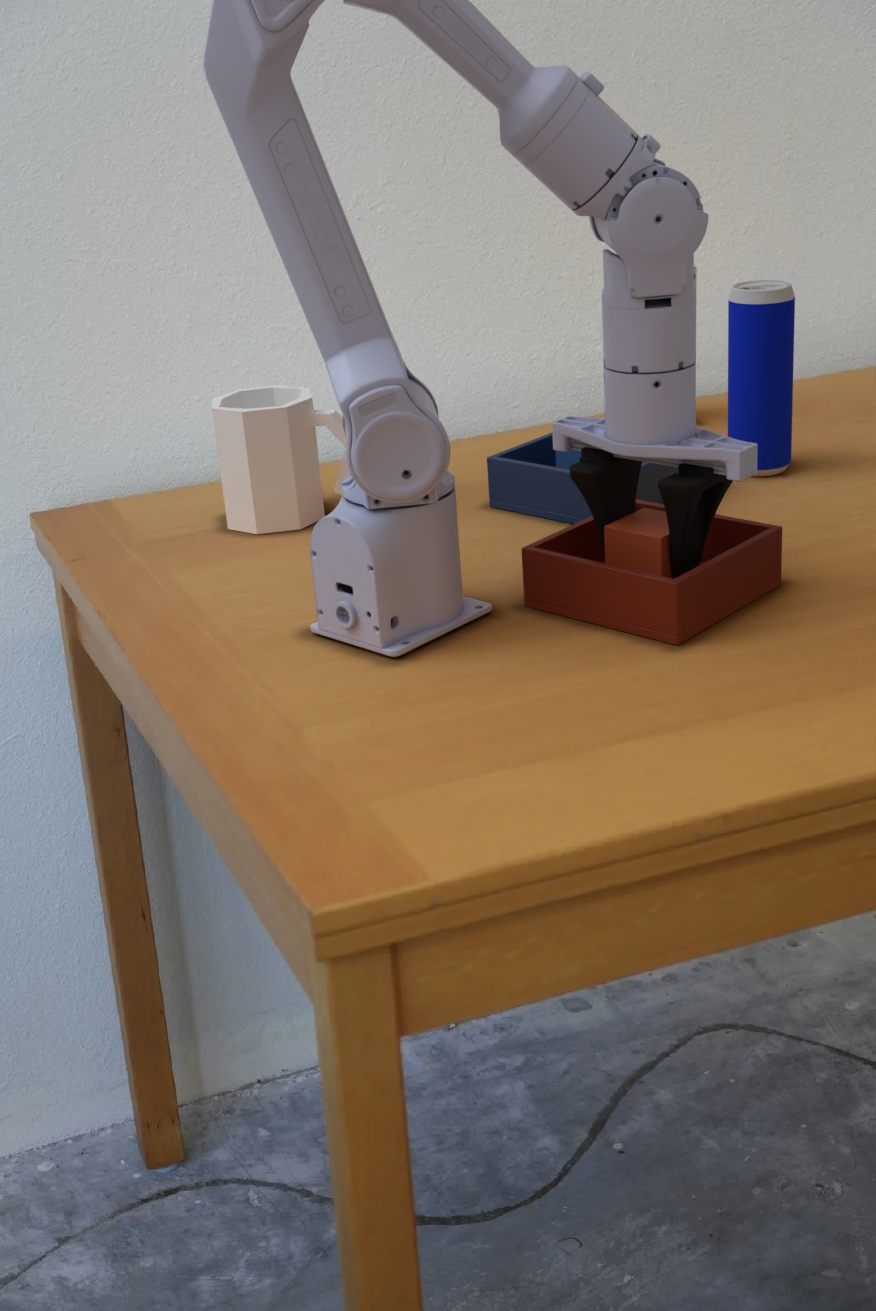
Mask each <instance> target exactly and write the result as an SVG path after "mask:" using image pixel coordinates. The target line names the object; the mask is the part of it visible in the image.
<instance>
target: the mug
mask: <svg viewBox="0 0 876 1311" xmlns="http://www.w3.org/2000/svg"><path fill="white" fill-rule="evenodd" d="M313 402H314V401H313V394H312V390H311V387H307V386H306V387H305V386H295V385H285V384H272V385H263V386H256V387H249V388H241V389H235V390H233V391H230V392H228V393H225V394H222V395H219V396H216V397H214V398H211V415H212V422H213V430H214V437H215V444H216V451H217V459H218V466H219V473H220V481H221V489H222V495H223V496H222V497H223V504H224V511H225V517H226V526H227V530H231V531H236V532H243V533H249V534H253V535H263V534H272V533H280V532H289V531H298V530H299V531H300V530H302V529H304V528H306V527H309V526H311V525H313V524H316V523H317V522H318V521H319V520H321V519H322V518H323V517H325V516H326V513H325V504H324V495H323V486H322V485H323V484H322V476H321V466H320V458H319V456H320V455H319V447H318V439H317V428H316V427H326V428H327V429H328V430H329V432H330V433H331V434H332V435H333V436H334V437H335V438H336V439H337V440H338V441H339V442H340V444H342V446H343V447H344V448H345V449H344V453H343V456H342V459H341V463H340V467H339V471H338V474H337V477H336V481H335V486H334V489H333V492H334V493H336V494H339V495H341V496H343V495H342V482H343V480H344V479H346V478H348V476H349V473H350V472H349V469H348V465H347V461H346V442H347V441H346V435H345V433H344V429H343V421H342V414H340V413H339V412H338V411H337V410H336V409H314V403H313Z"/></svg>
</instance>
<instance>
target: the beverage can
mask: <svg viewBox="0 0 876 1311" xmlns="http://www.w3.org/2000/svg"><path fill="white" fill-rule="evenodd" d="M727 300H728V302H727V303H728V305H727V306H728V311H727V314H728V315H727V317H728V318H727V325H728V326H727V340H728V341H727V437H731V438H734V439H737V440H741V441H745V442H751V443H757V444H758V449H757V473H756V474H755V475H753V476H752V477H769V476H775V475H779V474H782V473H783V472H785V471H786V470H787V469H788V467H789V466H790V464H791V463H792V444H793V442H792V441H793V440H792V439H793V438H792V437H793V400H794V398H793V397H794V357H795V316H796V314H795V313H796V310H795V309H796V296H795V292H794V289H793V286H792V283H790V282H788V281H784V280H776V279H775V280H774V279H760V280H749V281H747V280H746V281H742V282H738V283H735V284H733V285H732V287H731V290H730V293H729V296H728V299H727Z"/></svg>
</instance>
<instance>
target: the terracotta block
mask: <svg viewBox="0 0 876 1311" xmlns="http://www.w3.org/2000/svg"><path fill="white" fill-rule="evenodd" d="M604 537H605V563H606V564H610V565H614V566H619V567H623V568H628V569H632V570H637V571H641V572H645V573H650V574H654V575H659V576H663V577H668V578H672V579H673V577H672V573H671V567H670V537H669V527H668V521H667V516H666V512H664V511H659V510H654V509H648V508H642V509H640V510H638V511H636V512H634V513H632V514H630V515H628V516H625V517H623V518H621V519H619V520H617V521H615V522H613V523H610V524H608V525H606V526H604ZM700 565H701V562H700Z"/></svg>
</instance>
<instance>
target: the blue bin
mask: <svg viewBox="0 0 876 1311" xmlns="http://www.w3.org/2000/svg"><path fill="white" fill-rule="evenodd" d="M486 468H487V469H486V470H487V483H488V484H487V485H488V496H489V497H488V501H489V502H488V503H489V507H490V508H495V509H500V510H505V511H510V512H515V513H518V514H519V513H520V514H524V515H527V516H533V517H537V518H538V517H539V518H543V519H548V520H553V521H556V522H557V521H558V522H563V523H568V524H571V525H573V524H575V523H578V522H580V521H582V520H584V519H586V518H589V517H591V516H592V513H591V511H590V509H589V507H588V505H587V503H586V501H585V499H584V497H583V496H582V494H581V492H580V491H579V489H578V488H577V486H576V485H575V483H574V482H573V481H572V479H571V478H570V470H569V469H563V468H557V467H556V452H555V450H553V434H552V432H549V433H547V434H544V435H542V436H538V437H536V438H534V439H531V440H529V441H526V442H524V443H521V444H518V445H515V446H513V447H510V448H508V449H505V450H503V451H500V452H498V453H494V454H493V455H490V456H487V457H486ZM675 473H677V474H678V473H679V467H673V466H667V465H661V464H655V463H649V462H643V461H642V465H641V470H640V475H639V480H638V486H637V493H636V499H638V500H643V501H648V502H654V503H659V504H664V503H663V500H662V497H661V494H660V491H659V489H658V481H659V480H661V479H664V478H666V477H668V476H670V475H673V474H675Z"/></svg>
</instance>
